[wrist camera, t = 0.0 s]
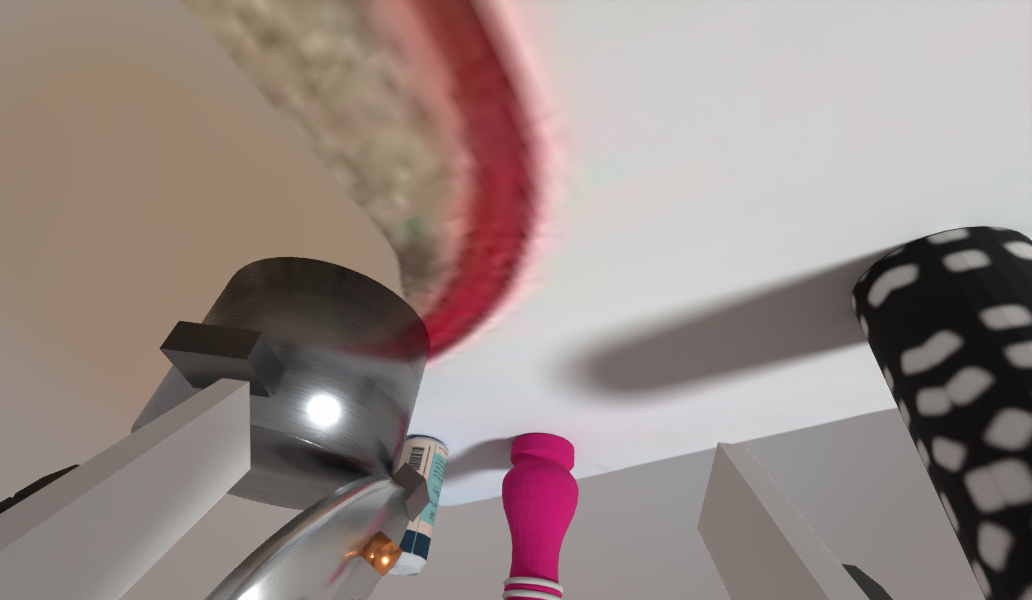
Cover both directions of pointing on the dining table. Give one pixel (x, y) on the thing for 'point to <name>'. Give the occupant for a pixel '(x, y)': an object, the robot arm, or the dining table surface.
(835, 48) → the dining table surface
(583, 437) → the dining table surface
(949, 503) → the white-spotted black cylinder
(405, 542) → the beer can
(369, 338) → the cooking pot
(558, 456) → the pepper mill
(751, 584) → the robot arm
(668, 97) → the dining table surface
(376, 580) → the pot lid
